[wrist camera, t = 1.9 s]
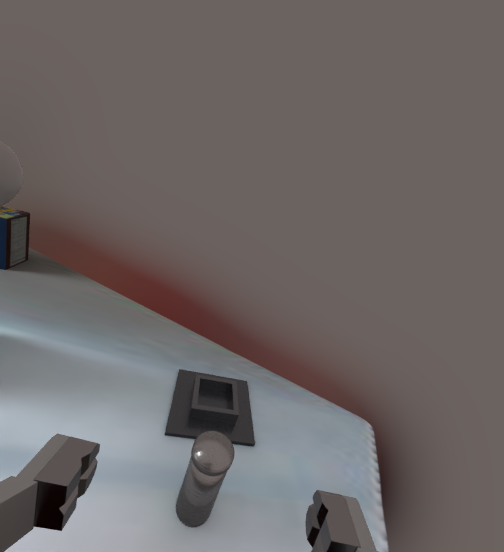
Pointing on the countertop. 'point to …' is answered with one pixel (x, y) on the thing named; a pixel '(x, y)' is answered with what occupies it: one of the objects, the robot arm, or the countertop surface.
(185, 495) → the grey cylinder
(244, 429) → the duct collar
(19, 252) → the protein box
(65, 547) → the countertop surface
